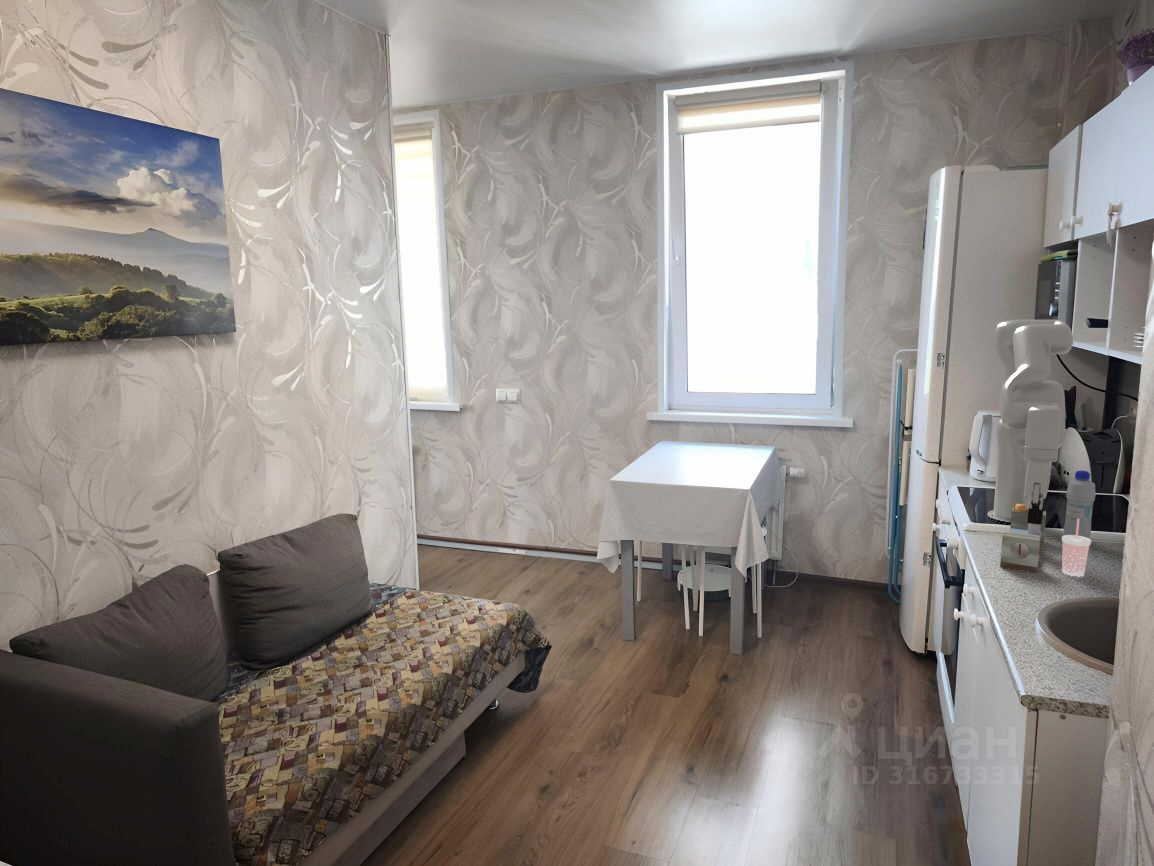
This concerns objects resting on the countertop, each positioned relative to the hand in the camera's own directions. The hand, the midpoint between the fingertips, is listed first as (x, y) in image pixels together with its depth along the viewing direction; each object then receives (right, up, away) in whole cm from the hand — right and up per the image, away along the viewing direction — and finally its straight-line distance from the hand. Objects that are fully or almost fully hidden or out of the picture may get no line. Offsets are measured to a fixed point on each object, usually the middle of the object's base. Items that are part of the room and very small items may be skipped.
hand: (1034, 521), depth 204 cm
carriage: (-2, -6, +2) cm, 6 cm away
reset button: (+2, -1, +11) cm, 11 cm away
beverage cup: (+2, -12, -13) cm, 18 cm away
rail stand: (-3, -9, +1) cm, 9 cm away
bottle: (+17, -7, +10) cm, 21 cm away
